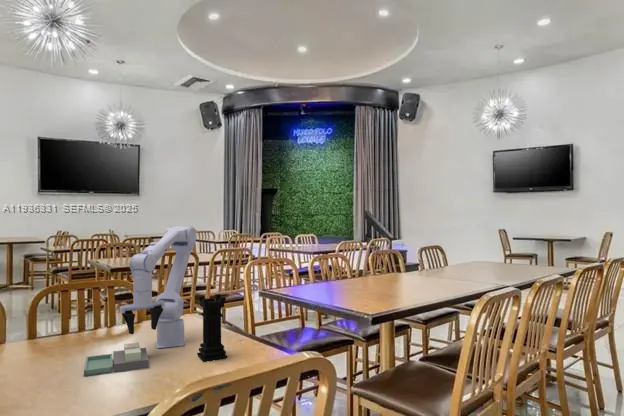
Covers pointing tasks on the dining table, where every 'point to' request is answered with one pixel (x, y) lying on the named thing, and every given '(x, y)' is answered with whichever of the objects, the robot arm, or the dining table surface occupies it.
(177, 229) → the robot arm
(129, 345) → the cream tile
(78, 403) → the dining table surface
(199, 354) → the chess piece
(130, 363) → the charcoal board
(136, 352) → the sage tile
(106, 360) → the tray
